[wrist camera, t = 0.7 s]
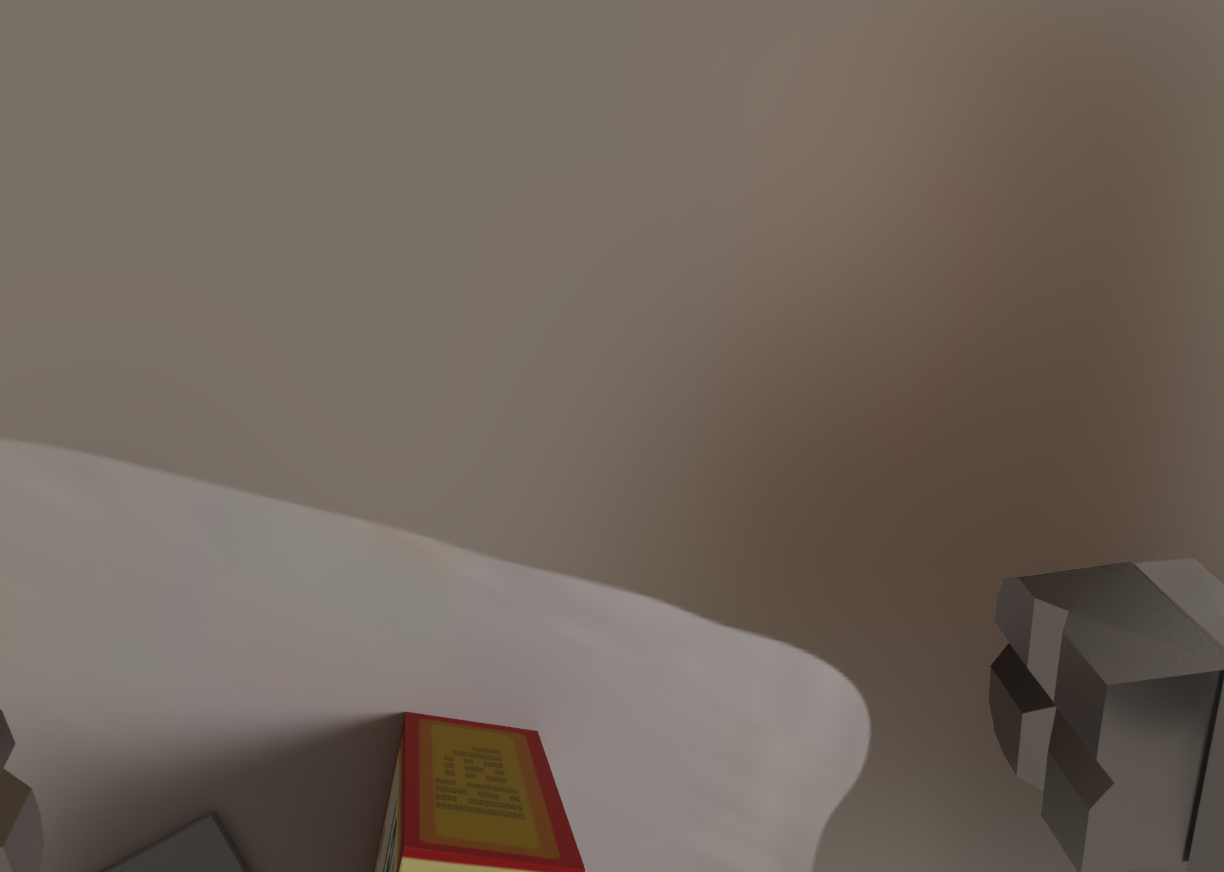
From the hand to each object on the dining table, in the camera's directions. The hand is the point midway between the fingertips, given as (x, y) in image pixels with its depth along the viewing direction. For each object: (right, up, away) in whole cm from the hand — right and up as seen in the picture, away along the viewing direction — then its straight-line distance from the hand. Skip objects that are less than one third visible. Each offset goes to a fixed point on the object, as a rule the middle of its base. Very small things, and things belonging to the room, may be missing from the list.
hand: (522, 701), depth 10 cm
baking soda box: (-7, -16, +47) cm, 50 cm away
